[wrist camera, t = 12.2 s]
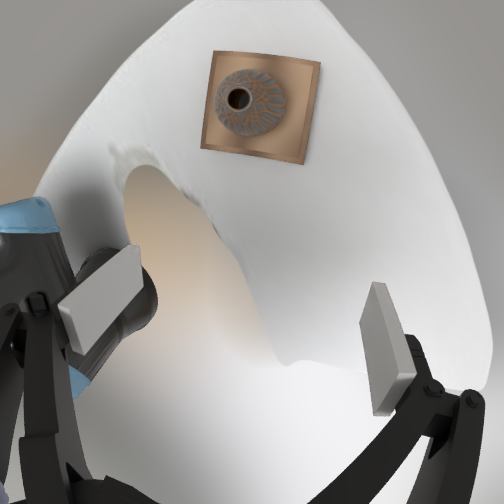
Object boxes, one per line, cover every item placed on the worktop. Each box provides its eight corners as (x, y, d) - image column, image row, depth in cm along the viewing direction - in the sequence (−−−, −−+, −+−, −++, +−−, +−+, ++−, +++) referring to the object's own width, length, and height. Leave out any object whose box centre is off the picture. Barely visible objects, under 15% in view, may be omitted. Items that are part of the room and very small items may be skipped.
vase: (214, 95, 30) (183, 88, 22) (268, 64, 28) (253, 45, 20) (245, 145, 32) (223, 154, 24) (300, 116, 30) (297, 114, 22)
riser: (207, 146, 36) (199, 148, 33) (220, 54, 31) (212, 49, 28) (303, 162, 35) (303, 165, 32) (320, 66, 29) (320, 61, 27)
